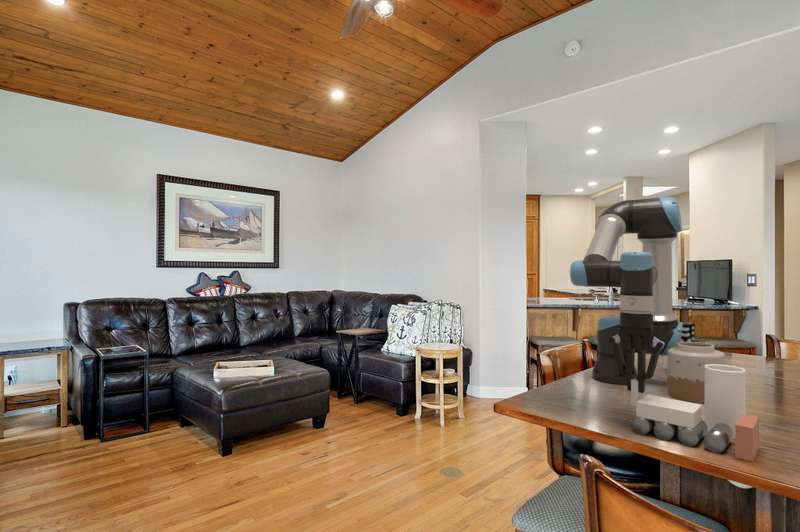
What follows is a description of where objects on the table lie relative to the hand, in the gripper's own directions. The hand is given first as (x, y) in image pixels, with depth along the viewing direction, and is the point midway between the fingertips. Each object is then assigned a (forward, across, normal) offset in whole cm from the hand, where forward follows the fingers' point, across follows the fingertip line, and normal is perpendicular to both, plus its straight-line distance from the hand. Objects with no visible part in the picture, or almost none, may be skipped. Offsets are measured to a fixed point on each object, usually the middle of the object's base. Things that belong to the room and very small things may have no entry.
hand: (635, 404), depth 115 cm
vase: (+6, +5, +42) cm, 43 cm away
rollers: (+6, +10, 0) cm, 12 cm away
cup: (+6, +17, +11) cm, 21 cm away
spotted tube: (+6, -5, +72) cm, 72 cm away
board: (+2, +8, 0) cm, 8 cm away
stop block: (+6, +23, 0) cm, 23 cm away
